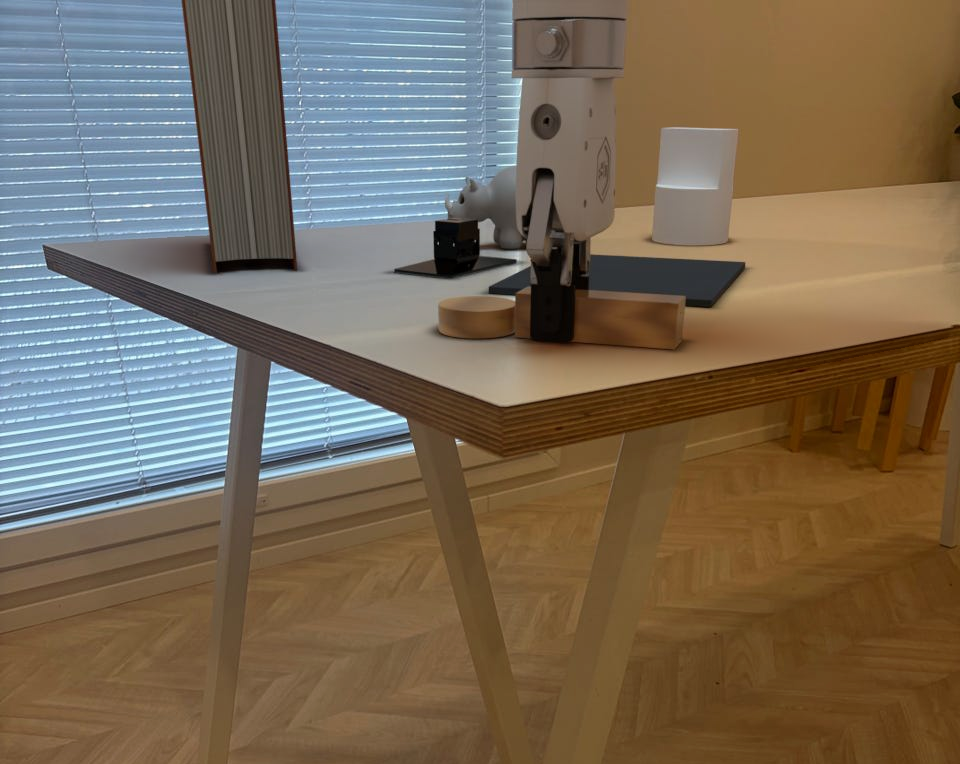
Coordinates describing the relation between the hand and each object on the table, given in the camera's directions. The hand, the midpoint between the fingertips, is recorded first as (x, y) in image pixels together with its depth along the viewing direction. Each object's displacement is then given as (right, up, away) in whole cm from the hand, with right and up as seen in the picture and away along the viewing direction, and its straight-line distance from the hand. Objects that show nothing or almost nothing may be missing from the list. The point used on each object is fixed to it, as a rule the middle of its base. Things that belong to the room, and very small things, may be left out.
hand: (558, 333), depth 77 cm
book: (-31, +19, +36) cm, 52 cm away
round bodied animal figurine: (-4, +22, +42) cm, 47 cm away
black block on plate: (-8, +15, +29) cm, 34 cm away
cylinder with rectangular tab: (+19, +25, +46) cm, 56 cm away
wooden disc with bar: (0, 0, 0) cm, 0 cm away
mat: (+8, +12, +22) cm, 26 cm away
